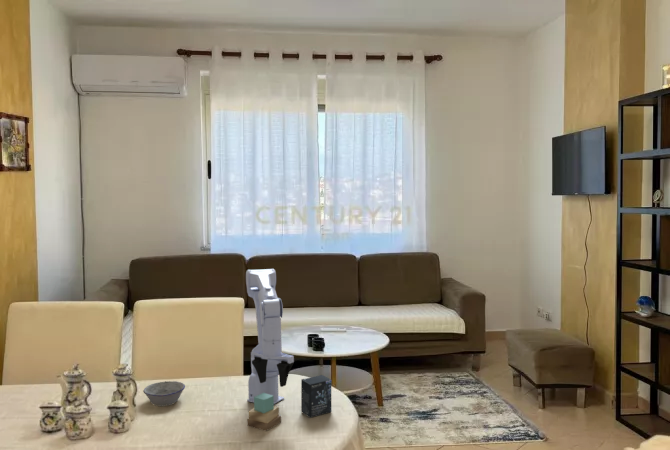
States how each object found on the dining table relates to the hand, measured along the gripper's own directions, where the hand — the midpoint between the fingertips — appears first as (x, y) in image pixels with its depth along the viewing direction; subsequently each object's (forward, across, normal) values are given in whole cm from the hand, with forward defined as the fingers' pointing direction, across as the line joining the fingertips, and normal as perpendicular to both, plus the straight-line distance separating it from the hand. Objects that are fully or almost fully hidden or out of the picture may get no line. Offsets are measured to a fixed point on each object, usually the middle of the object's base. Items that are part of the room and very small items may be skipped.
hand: (272, 384), depth 174 cm
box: (+11, +9, +10) cm, 17 cm away
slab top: (+9, 0, -5) cm, 10 cm away
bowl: (+10, -39, -7) cm, 41 cm away
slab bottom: (+11, 0, -5) cm, 12 cm away
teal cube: (+6, 0, -5) cm, 8 cm away
